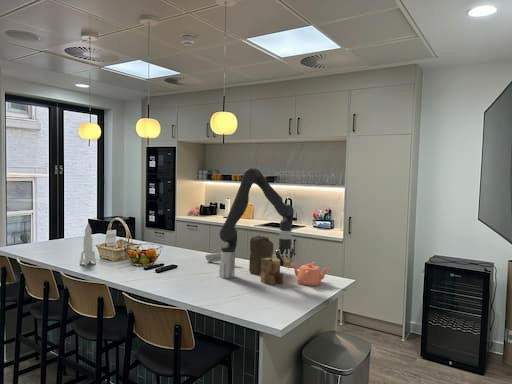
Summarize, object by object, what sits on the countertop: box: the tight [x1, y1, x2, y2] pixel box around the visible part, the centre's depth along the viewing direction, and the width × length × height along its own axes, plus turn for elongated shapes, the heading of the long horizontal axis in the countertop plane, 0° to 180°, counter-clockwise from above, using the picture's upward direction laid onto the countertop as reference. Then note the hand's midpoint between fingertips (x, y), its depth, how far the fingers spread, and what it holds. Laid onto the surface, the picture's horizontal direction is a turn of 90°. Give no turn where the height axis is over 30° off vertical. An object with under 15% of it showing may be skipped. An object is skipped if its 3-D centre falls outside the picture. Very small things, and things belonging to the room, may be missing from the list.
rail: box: [272, 253, 294, 269], centre depth 230 cm, size 4×17×5 cm, turn 34°
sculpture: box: [79, 222, 97, 267], centre depth 266 cm, size 7×8×30 cm
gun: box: [204, 252, 237, 263], centre depth 280 cm, size 2×25×10 cm, turn 66°
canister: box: [248, 235, 274, 275], centre depth 262 cm, size 19×8×25 cm, turn 142°
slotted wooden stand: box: [260, 257, 285, 286], centre depth 237 cm, size 13×10×15 cm
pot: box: [293, 261, 330, 287], centre depth 239 cm, size 18×17×12 cm
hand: (284, 265), depth 228 cm, fingers closed on rail, 3 cm apart
